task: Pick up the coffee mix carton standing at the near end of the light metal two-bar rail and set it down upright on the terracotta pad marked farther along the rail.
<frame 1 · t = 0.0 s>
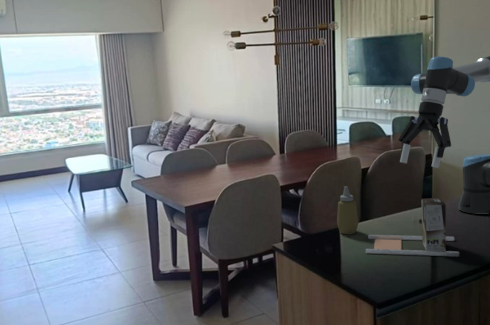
hand: (418, 165, 168), 28 cm above the kitchen counter, tool tilted 20°, fingers open, 13 cm apart
squeeze bottle: (348, 232, 191), on the kitchen counter
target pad: (387, 245, 173), on the kitchen counter
coffee box: (433, 247, 169), on the kitchen counter
rail: (410, 246, 171), on the kitchen counter
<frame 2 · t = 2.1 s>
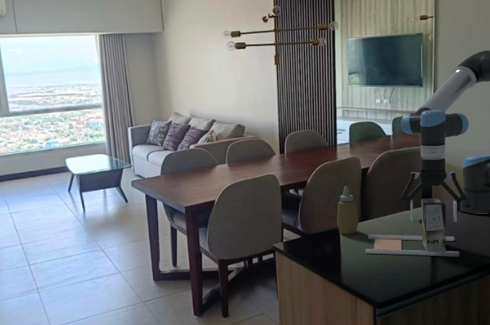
hand: (433, 220, 167), 9 cm above the kitchen counter, tool pointing down, fingers open, 13 cm apart
nothing on the kitchen counter moved.
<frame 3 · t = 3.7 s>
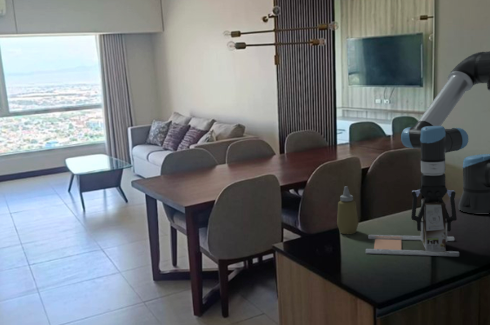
hand: (433, 240, 168), 3 cm above the kitchen counter, tool pointing down, fingers closed on coffee box, 7 cm apart
coffee box: (433, 247, 169), on the kitchen counter, touching gripper
everything else where it was.
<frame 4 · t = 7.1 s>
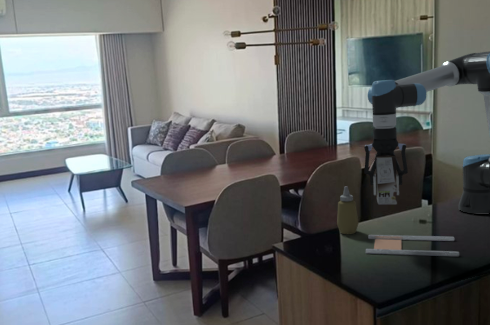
hand: (386, 194, 170), 18 cm above the kitchen counter, tool pointing down, fingers closed on coffee box, 7 cm apart
coffee box: (386, 201, 170), point 16 cm above the kitchen counter, touching gripper
everything else where it was.
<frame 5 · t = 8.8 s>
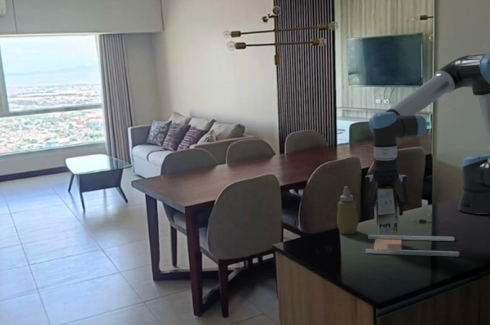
hand: (387, 224, 172), 8 cm above the kitchen counter, tool pointing down, fingers closed on coffee box, 7 cm apart
coffee box: (387, 231, 172), point 5 cm above the kitchen counter, touching gripper
everything else where it was.
when the fingers open (4 cm above the kitchen counter, at t = 10.3 s): coffee box drops 1 cm, resting on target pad.
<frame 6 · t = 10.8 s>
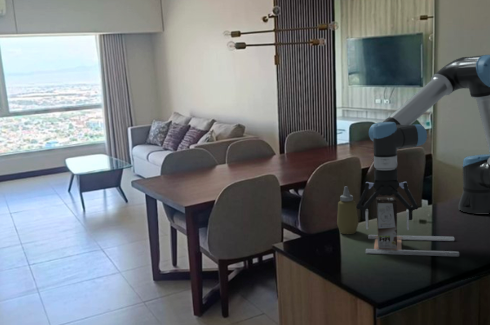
hand: (387, 228, 172), 6 cm above the kitchen counter, tool pointing down, fingers open, 13 cm apart
coffee box: (387, 245, 173), resting on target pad
everything else where it was.
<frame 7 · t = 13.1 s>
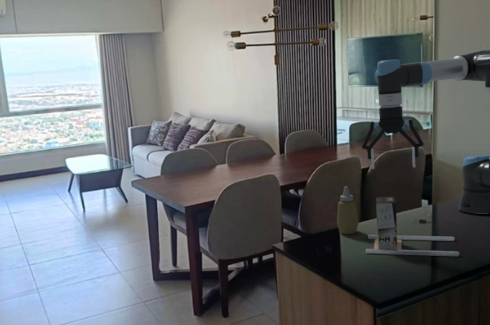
hand: (393, 167, 173), 27 cm above the kitchen counter, tool pointing down, fingers open, 13 cm apart
nothing on the kitchen counter moved.
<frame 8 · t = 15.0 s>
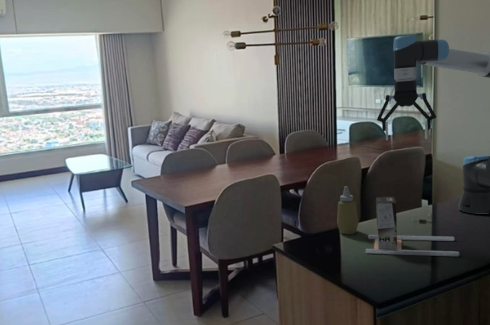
hand: (406, 139, 181), 35 cm above the kitchen counter, tool pointing down, fingers open, 13 cm apart
nothing on the kitchen counter moved.
at the end: coffee box 0.2 cm off-centre on the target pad, point 0.2 cm above the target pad's base; coffee box tilted 0°; the gripper is holding nothing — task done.
